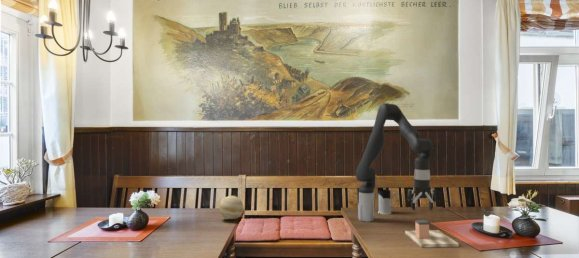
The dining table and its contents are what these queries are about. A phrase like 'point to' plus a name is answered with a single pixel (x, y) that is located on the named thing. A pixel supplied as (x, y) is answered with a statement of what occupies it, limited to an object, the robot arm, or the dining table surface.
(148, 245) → the dining table surface
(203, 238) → the dining table surface
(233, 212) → the decorative ball
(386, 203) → the glass holder
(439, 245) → the board
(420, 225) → the block
